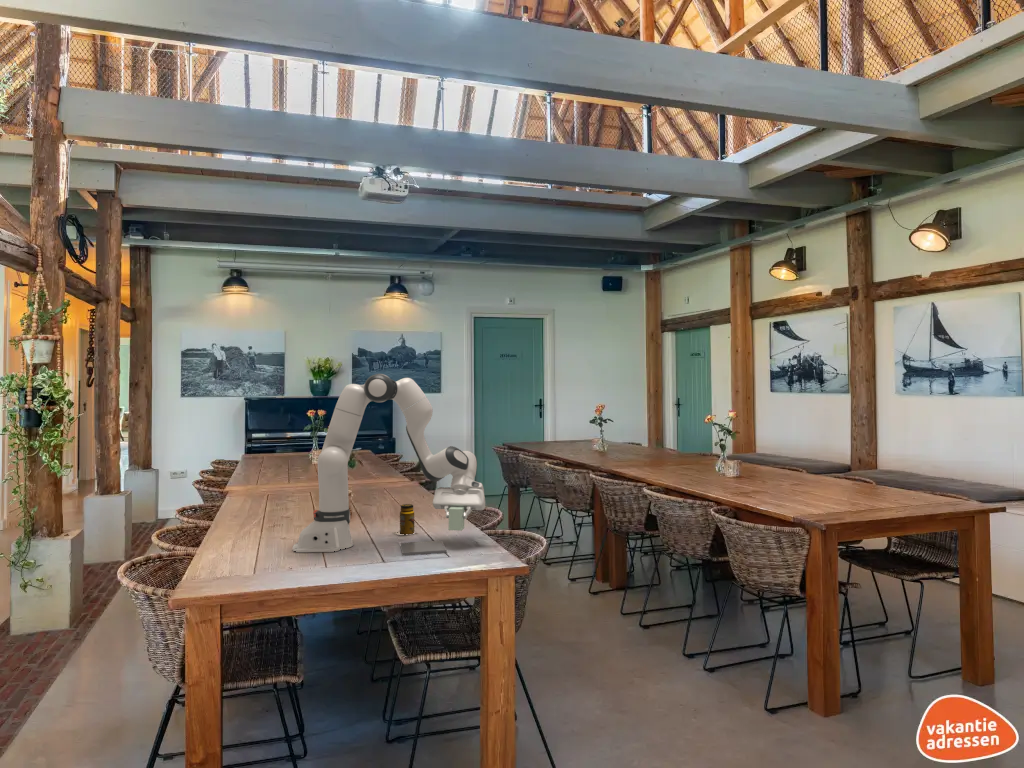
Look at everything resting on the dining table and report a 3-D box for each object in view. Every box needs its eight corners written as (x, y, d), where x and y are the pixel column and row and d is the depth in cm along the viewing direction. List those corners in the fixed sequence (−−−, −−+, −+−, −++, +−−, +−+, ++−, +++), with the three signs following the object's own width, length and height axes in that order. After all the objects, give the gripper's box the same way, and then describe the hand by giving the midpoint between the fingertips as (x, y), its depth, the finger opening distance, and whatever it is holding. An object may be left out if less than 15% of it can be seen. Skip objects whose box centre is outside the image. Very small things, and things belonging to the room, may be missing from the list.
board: (402, 555, 251) (402, 552, 251) (400, 545, 267) (400, 543, 267) (446, 552, 254) (446, 550, 254) (441, 543, 270) (441, 540, 270)
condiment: (418, 534, 287) (417, 505, 287) (399, 536, 282) (399, 507, 282) (410, 531, 293) (410, 502, 293) (392, 533, 288) (391, 505, 288)
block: (448, 530, 259) (448, 508, 259) (451, 527, 264) (451, 506, 264) (461, 530, 258) (461, 509, 258) (464, 527, 263) (464, 507, 263)
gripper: (434, 482, 269) (427, 511, 260) (486, 483, 267) (481, 513, 257) (437, 492, 274) (430, 521, 264) (488, 493, 271) (483, 523, 261)
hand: (456, 517), depth 260 cm, fingers closed on block, 5 cm apart
